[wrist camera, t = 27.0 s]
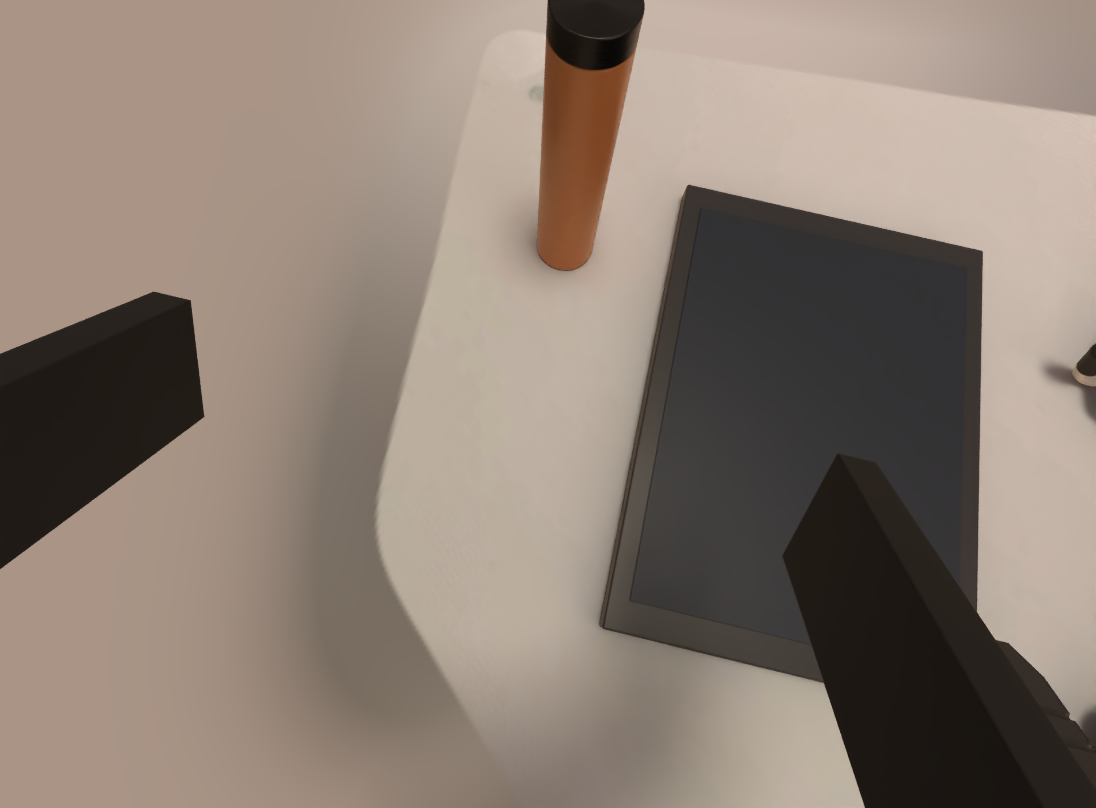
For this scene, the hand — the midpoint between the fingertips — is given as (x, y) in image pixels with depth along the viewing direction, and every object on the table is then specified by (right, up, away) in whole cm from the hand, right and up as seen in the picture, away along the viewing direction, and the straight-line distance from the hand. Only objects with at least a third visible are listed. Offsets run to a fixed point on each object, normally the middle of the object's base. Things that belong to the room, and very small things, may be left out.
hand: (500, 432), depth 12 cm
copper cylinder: (+2, +8, +15) cm, 17 cm away
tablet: (+12, 0, +13) cm, 18 cm away
